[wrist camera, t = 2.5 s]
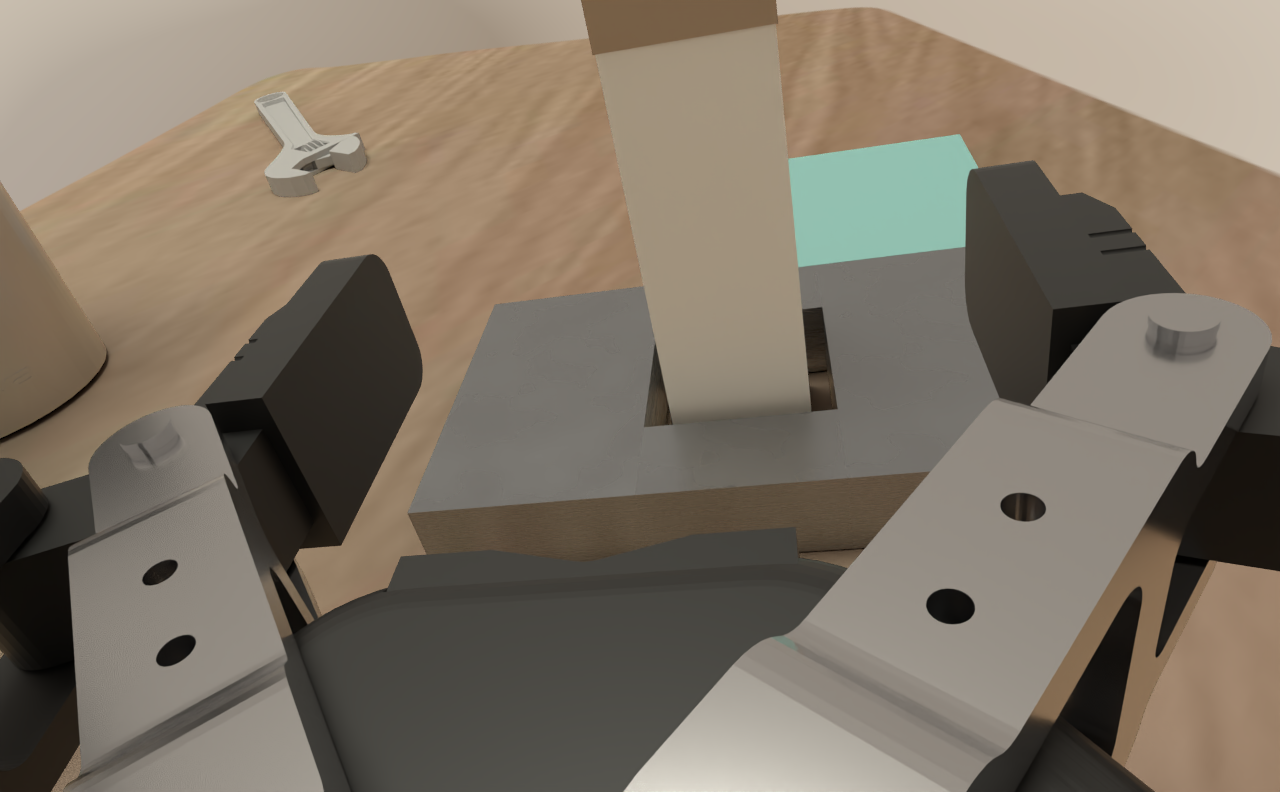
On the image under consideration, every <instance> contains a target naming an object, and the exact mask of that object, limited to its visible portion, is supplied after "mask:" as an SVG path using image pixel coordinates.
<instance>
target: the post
mask: <svg viewBox="0 0 1280 792" xmlns="http://www.w3.org/2000/svg"><path fill="white" fill-rule="evenodd" d="M581 2H582V7H583V11H584V16H585V21H586V26H587V30H588V35H589V40H590V45H591V49H592V54H593V55H595V56H596V61H597V65H598V70H599V75H600V80H601V84H602V89H603V94H604V99H605V104H606V108H607V113H608V118H609V123H610V127H611V132H612V137H613V142H614V147H615V151H616V156H617V161H618V166H619V170H620V175H621V180H622V185H623V190H624V194H625V199H626V204H627V209H628V213H629V218H630V223H631V228H632V233H633V237H634V242H635V247H636V252H637V257H638V261H639V266H640V271H641V276H642V280H643V285H644V290H645V295H646V300H647V304H648V309H649V314H650V319H651V323H652V328H653V333H654V338H655V343H656V347H657V352H658V357H659V362H660V366H661V371H662V376H663V381H664V386H665V390H666V395H667V400H668V405H669V410H670V414H671V419H672V424H673V425H675V424H686V423H696V422H707V421H718V420H728V419H739V418H750V417H760V416H771V415H782V414H792V413H803V412H811V401H810V390H809V379H808V368H807V358H806V347H805V336H804V325H803V314H802V303H801V293H800V282H799V271H798V260H797V249H796V239H795V228H794V217H793V206H792V195H791V184H790V174H789V163H788V152H787V141H786V130H785V120H784V109H783V98H782V87H781V76H780V65H779V55H778V44H777V33H776V24H777V23H778V18H777V9H776V8H777V7H776V0H581Z"/></svg>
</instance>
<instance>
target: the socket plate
mask: <svg viewBox="0 0 1280 792" xmlns="http://www.w3.org/2000/svg"><path fill="white" fill-rule="evenodd" d="M798 271H799V282H800V293H801V303H802V314H803V325H804V336H805V347H806V358H807V368H808V372H815V371H825V370H827V373H828V380H829V387H830V393H831V400H832V407H833V410H824V411H814V412H803V413H792V414H782V415H771V416H760V417H750V418H739V419H728V420H718V421H707V422H696V423H686V424H675V425H666V417H667V407H668V400H667V395H666V390H665V386H664V381H663V376H662V371H661V366H660V362H659V357H658V352H657V347H656V343H655V338H654V333H653V328H652V323H651V319H650V314H649V309H648V304H647V300H646V295H645V290H644V286H643V287H634V288H626V289H618V290H610V291H602V292H594V293H585V294H577V295H569V296H561V297H553V298H545V299H536V300H528V301H520V302H512V303H504V304H496V305H495V306H494V308H493V311H492V313H491V316H490V318H489V320H488V323H487V325H486V327H485V330H484V332H483V335H482V337H481V339H480V342H479V344H478V347H477V349H476V351H475V354H474V356H473V358H472V361H471V363H470V366H469V368H468V370H467V373H466V375H465V378H464V380H463V382H462V385H461V387H460V389H459V392H458V394H457V397H456V399H455V401H454V404H453V406H452V409H451V411H450V413H449V416H448V418H447V420H446V423H445V425H444V428H443V430H442V432H441V435H440V437H439V440H438V442H437V444H436V447H435V449H434V451H433V454H432V456H431V459H430V461H429V463H428V466H427V468H426V471H425V473H424V475H423V478H422V480H421V482H420V485H419V487H418V490H417V492H416V494H415V497H414V499H413V502H412V504H411V506H410V509H409V511H408V515H409V517H410V520H411V522H412V524H413V526H414V528H415V530H416V532H417V535H418V537H419V539H420V541H421V543H422V545H423V547H424V550H425V552H426V554H427V555H429V554H443V553H456V552H469V551H482V550H497V551H504V552H511V553H519V554H526V555H533V556H540V557H548V558H555V559H562V560H569V561H577V562H588V561H594V560H599V559H602V558H606V557H610V556H614V555H618V554H621V553H625V552H629V551H633V550H636V549H640V548H644V547H648V546H652V545H655V544H659V543H663V542H667V541H670V540H674V539H678V538H682V537H686V536H689V535H695V534H708V533H721V532H735V531H748V530H761V529H775V528H788V527H796V534H797V541H798V549H799V552H807V551H823V550H838V549H853V548H866V547H867V546H868V544H869V543H870V542H871V541H872V540H873V539H874V537H875V536H876V535H877V534H878V533H879V531H880V530H881V529H882V528H883V527H884V526H885V524H886V523H887V522H888V521H889V520H890V519H891V517H892V516H893V515H894V514H895V513H896V512H897V510H898V509H899V508H900V507H901V506H902V505H903V503H904V502H905V501H906V500H907V499H908V498H909V496H910V495H911V494H912V493H913V492H914V491H915V489H916V488H917V487H918V486H919V485H920V483H921V482H922V481H923V480H924V479H925V478H926V476H927V475H928V474H929V473H930V472H931V471H932V469H933V468H934V467H935V466H936V465H937V464H938V462H939V461H940V460H941V459H942V458H943V457H944V455H945V454H946V453H947V452H948V451H949V450H950V448H951V447H952V446H953V445H954V444H955V443H956V441H957V440H958V439H959V438H960V437H961V435H962V434H963V433H964V432H965V431H966V430H967V428H968V427H969V426H970V425H971V424H972V423H973V421H974V420H975V419H976V418H977V417H978V416H979V414H980V413H981V412H982V411H983V410H984V409H985V408H986V407H987V406H988V405H989V404H990V403H991V402H992V401H994V400H995V399H998V398H999V396H998V393H997V391H996V388H995V386H994V383H993V381H992V378H991V376H990V373H989V371H988V368H987V366H986V363H985V361H984V358H983V356H982V353H981V351H980V348H979V346H978V343H977V341H976V339H975V336H974V334H973V331H972V328H971V325H970V322H969V317H968V312H967V305H966V296H965V247H961V248H953V249H945V250H936V251H928V252H920V253H912V254H904V255H896V256H888V257H879V258H871V259H863V260H855V261H847V262H839V263H830V264H822V265H814V266H806V267H798Z"/></svg>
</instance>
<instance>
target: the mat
mask: <svg viewBox="0 0 1280 792" xmlns="http://www.w3.org/2000/svg"><path fill="white" fill-rule="evenodd" d="M788 163H789V174H790V184H791V195H792V206H793V217H794V228H795V239H796V249H797V260H798V267H806V266H814V265H822V264H830V263H839V262H847V261H855V260H863V259H871V258H879V257H888V256H896V255H904V254H912V253H920V252H928V251H936V250H945V249H953V248H961V247H965V239H966V188H967V179H968V175H969V172H970V170H971V169H977V168H978V166H977V165H976V163H975V161H974V159H973V157H972V156H971V154H970V152H969V150H968V148H967V147H966V145H965V143H964V141H963V140H962V138H961V136H960V134H958V135H951V136H944V137H937V138H930V139H923V140H916V141H909V142H902V143H895V144H888V145H882V146H875V147H868V148H861V149H854V150H847V151H840V152H833V153H826V154H819V155H812V156H805V157H798V158H791V159H788Z"/></svg>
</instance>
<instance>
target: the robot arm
mask: <svg viewBox="0 0 1280 792" xmlns="http://www.w3.org/2000/svg"><path fill="white" fill-rule="evenodd" d="M965 296H966V305H967V312H968V317H969V322H970V325H971V328H972V331H973V334H974V336H975V339H976V341H977V343H978V346H979V348H980V351H981V353H982V356H983V358H984V361H985V363H986V366H987V368H988V371H989V373H990V376H991V378H992V381H993V383H994V386H995V388H996V391H997V393H998V396H999V398H998V399H995V400H994V401H992V402H991V403H990V404H989V405H988V406H987V407H986V408H985V409H984V410H983V411H982V412H981V413H980V414H979V416H978V417H977V418H976V419H975V420H974V421H973V423H972V424H971V425H970V426H969V427H968V428H967V430H966V431H965V432H964V433H963V434H962V435H961V437H960V438H959V439H958V440H957V441H956V443H955V444H954V445H953V446H952V447H951V448H950V450H949V451H948V452H947V453H946V454H945V455H944V457H943V458H942V459H941V460H940V461H939V462H938V464H937V465H936V466H935V467H934V468H933V469H932V471H931V472H930V473H929V474H928V475H927V476H926V478H925V479H924V480H923V481H922V482H921V483H920V485H919V486H918V487H917V488H916V489H915V491H914V492H913V493H912V494H911V495H910V496H909V498H908V499H907V500H906V501H905V502H904V503H903V505H902V506H901V507H900V508H899V509H898V510H897V512H896V513H895V514H894V515H893V516H892V517H891V519H890V520H889V521H888V522H887V523H886V524H885V526H884V527H883V528H882V529H881V530H880V531H879V533H878V534H877V535H876V536H875V537H874V539H873V540H872V541H871V542H870V543H869V544H868V546H867V547H866V548H865V549H864V550H863V551H862V553H861V554H860V555H859V556H858V557H857V558H856V560H855V561H854V562H853V563H852V564H851V565H850V567H849V568H845V567H842V566H838V565H834V564H830V563H825V562H821V561H817V560H810V559H804V558H800V557H799V549H798V541H797V534H796V527H788V528H775V529H761V530H748V531H735V532H721V533H708V534H695V535H689V536H686V537H682V538H678V539H674V540H670V541H667V542H663V543H659V544H655V545H652V546H648V547H644V548H640V549H636V550H633V551H629V552H625V553H621V554H618V555H614V556H610V557H606V558H602V559H599V560H594V561H588V562H577V561H569V560H562V559H555V558H548V557H540V556H533V555H526V554H519V553H511V552H504V551H497V550H482V551H469V552H456V553H443V554H429V555H416V556H403V557H401V558H400V560H399V562H398V565H397V567H396V570H395V572H394V574H393V577H392V579H391V582H390V584H389V586H388V588H385V589H382V590H379V591H376V592H373V593H370V594H368V595H365V596H362V597H360V598H357V599H355V600H353V601H350V602H348V603H346V604H344V605H342V606H340V607H337V608H335V609H333V610H332V611H330V612H328V613H326V614H324V615H323V616H322V614H321V612H320V610H319V607H318V605H317V602H316V600H315V598H314V595H313V593H312V591H311V588H310V586H309V584H308V581H307V579H306V577H305V575H304V573H303V571H302V570H301V568H300V566H299V565H298V563H297V561H296V559H295V556H296V554H297V552H298V551H299V549H303V548H315V547H328V546H341V545H342V543H343V541H344V539H345V537H346V535H347V533H348V531H349V529H350V527H351V525H352V523H353V521H354V519H355V517H356V515H357V513H358V511H359V509H360V507H361V505H362V503H363V501H364V499H365V497H366V495H367V493H368V491H369V489H370V487H371V485H372V483H373V481H374V479H375V477H376V475H377V473H378V471H379V469H380V467H381V465H382V463H383V461H384V459H385V457H386V455H387V453H388V451H389V449H390V447H391V445H392V443H393V441H394V439H395V437H396V435H397V433H398V431H399V429H400V427H401V425H402V423H403V421H404V419H405V417H406V415H407V413H408V411H409V409H410V407H411V405H412V403H413V401H414V399H415V397H416V395H417V393H418V391H419V389H420V386H421V382H422V373H423V370H422V359H421V354H420V350H419V347H418V344H417V341H416V339H415V336H414V334H413V331H412V329H411V326H410V324H409V321H408V319H407V316H406V314H405V311H404V308H403V306H402V303H401V301H400V298H399V296H398V293H397V291H396V288H395V286H394V283H393V281H392V278H391V276H390V273H389V271H388V269H387V267H386V265H385V264H384V262H383V261H382V260H381V259H380V258H379V257H378V256H376V255H373V254H371V255H363V256H356V257H349V258H342V259H335V260H329V261H324V262H321V263H320V264H319V265H318V267H317V268H316V269H315V270H314V271H313V273H312V274H311V275H310V276H309V278H308V279H307V280H306V281H305V282H304V284H303V285H302V286H301V287H300V289H299V290H298V291H297V292H296V293H295V295H294V296H293V297H292V298H291V300H290V301H289V302H288V303H287V304H286V305H285V306H284V307H282V308H281V309H279V310H278V311H277V312H275V313H274V314H272V315H271V316H269V317H268V318H267V319H266V320H265V321H264V322H263V323H262V324H261V326H260V327H259V328H258V329H257V330H256V332H255V333H254V334H253V335H252V336H251V338H250V339H249V344H245V345H244V346H243V347H242V348H241V350H240V351H239V352H238V353H237V354H236V356H235V357H234V358H235V361H231V362H230V363H229V364H228V365H227V366H226V368H225V369H224V370H223V371H222V372H221V374H220V375H219V376H218V377H217V378H216V380H215V381H214V382H213V383H212V384H211V386H210V387H209V388H208V389H207V390H206V392H205V393H204V394H203V395H202V396H201V398H200V399H199V400H198V401H197V402H196V404H195V405H183V406H176V407H171V408H167V409H163V410H160V411H157V412H154V413H152V414H149V415H146V416H144V417H142V418H140V419H138V420H136V421H134V422H132V423H130V424H128V425H127V426H125V427H123V428H122V429H120V430H119V431H117V432H116V433H115V434H113V435H112V436H111V437H109V438H108V439H107V440H106V441H105V442H104V443H103V444H101V446H100V447H99V448H98V449H97V450H96V451H95V453H94V454H93V456H92V457H91V460H90V462H89V475H86V476H82V477H79V478H76V479H72V480H69V481H66V482H63V483H59V484H56V485H53V486H49V487H46V488H43V489H40V488H39V486H38V485H37V484H36V482H35V481H34V480H33V479H32V477H31V476H30V475H29V473H28V472H27V471H26V469H25V468H24V467H23V465H22V464H21V463H20V462H19V461H17V460H14V459H10V458H0V650H1V651H2V652H3V653H4V655H3V656H2V658H1V659H0V792H51V791H52V789H53V787H54V786H55V784H56V782H57V781H58V779H59V777H60V776H61V774H62V772H63V771H64V769H65V768H66V766H67V764H68V763H69V761H70V759H71V758H72V756H73V754H74V753H75V751H76V749H77V748H78V746H79V744H80V753H81V770H80V774H79V776H78V778H77V779H75V780H73V781H71V782H70V783H68V784H67V785H66V787H65V788H64V790H63V792H1155V791H1153V790H1152V789H1151V788H1150V787H1148V786H1147V785H1146V784H1144V783H1143V782H1142V781H1141V780H1139V779H1138V778H1137V777H1136V776H1134V775H1133V774H1132V773H1131V772H1129V771H1128V770H1127V769H1126V768H1124V766H1125V764H1126V761H1127V759H1128V757H1129V754H1130V752H1131V749H1132V747H1133V744H1134V741H1135V739H1136V736H1137V733H1138V730H1139V727H1140V724H1141V721H1142V718H1143V715H1144V712H1145V709H1146V706H1147V704H1148V701H1149V699H1150V696H1151V694H1152V692H1153V689H1154V687H1155V685H1156V683H1157V681H1158V679H1159V677H1160V675H1161V673H1162V671H1163V669H1164V667H1165V665H1166V663H1167V661H1168V659H1169V657H1170V655H1171V653H1172V651H1173V649H1174V647H1175V645H1176V643H1177V641H1178V639H1179V638H1180V636H1181V634H1182V632H1183V630H1184V628H1185V626H1186V624H1187V622H1188V620H1189V618H1190V616H1191V614H1192V612H1193V610H1194V608H1195V606H1196V604H1197V602H1198V600H1199V598H1200V596H1201V594H1202V592H1203V590H1204V588H1205V586H1206V584H1207V582H1208V580H1209V578H1210V576H1211V574H1212V572H1213V570H1214V568H1215V566H1216V563H1217V561H1218V562H1225V563H1231V564H1237V565H1244V566H1250V567H1256V568H1263V569H1269V570H1275V571H1280V348H1278V347H1273V346H1271V343H1272V334H1271V332H1270V330H1269V327H1268V326H1267V325H1266V324H1265V322H1264V321H1263V320H1262V319H1261V318H1259V317H1258V316H1257V315H1256V314H1254V313H1252V312H1251V311H1249V310H1247V309H1245V308H1244V307H1241V306H1239V305H1236V304H1234V303H1231V302H1228V301H1225V300H1222V299H1218V298H1213V297H1209V296H1203V295H1196V294H1186V293H1185V292H1184V291H1183V290H1182V288H1181V287H1180V286H1179V285H1178V283H1177V282H1176V281H1175V280H1174V279H1173V277H1172V276H1171V275H1170V274H1169V273H1168V271H1167V270H1166V269H1165V268H1164V267H1163V265H1162V264H1161V263H1160V262H1159V260H1158V259H1157V258H1156V257H1155V256H1154V254H1153V253H1152V252H1151V251H1150V250H1146V245H1145V244H1144V242H1143V241H1142V240H1141V239H1140V237H1139V236H1138V235H1137V234H1136V233H1132V228H1131V227H1130V225H1129V224H1128V223H1127V222H1126V221H1125V219H1124V218H1123V217H1122V216H1121V214H1120V213H1119V212H1118V211H1117V210H1116V208H1114V207H1112V206H1110V205H1108V204H1106V203H1103V202H1101V201H1099V200H1097V199H1095V198H1093V197H1090V196H1088V195H1086V194H1084V193H1076V194H1068V195H1061V196H1060V195H1059V194H1058V192H1057V191H1056V189H1055V188H1054V187H1053V185H1052V184H1051V182H1050V181H1049V180H1048V178H1047V177H1046V176H1045V174H1044V173H1043V171H1042V170H1041V169H1040V167H1039V166H1038V165H1037V163H1036V162H1035V161H1033V160H1032V161H1025V162H1018V163H1012V164H1005V165H998V166H991V167H984V168H977V169H971V170H970V172H969V175H968V179H967V188H966V239H965ZM106 353H107V350H106V348H105V345H104V343H103V342H102V340H101V339H100V337H99V335H98V334H97V332H96V331H95V329H94V328H93V326H92V324H91V323H90V321H89V320H88V318H87V317H86V315H85V314H84V312H83V310H82V309H81V307H80V306H79V304H78V303H77V301H76V299H75V298H74V296H73V295H72V293H71V292H70V290H69V289H68V287H67V285H66V284H65V282H64V281H63V279H62V278H61V276H60V274H59V272H58V271H57V269H56V268H55V266H54V264H53V263H52V261H51V260H50V258H49V257H48V255H47V254H46V252H45V250H44V249H43V247H42V246H41V244H40V243H39V241H38V239H37V238H36V236H35V235H34V233H33V232H32V230H31V229H30V227H29V225H28V224H27V222H26V221H25V219H24V218H23V216H22V215H21V213H20V211H19V210H18V208H17V207H16V205H15V204H14V202H13V201H12V199H11V197H10V196H9V194H8V193H7V191H6V190H5V188H4V187H3V185H2V183H1V182H0V438H2V437H4V436H6V435H8V434H10V433H12V432H15V431H17V430H19V429H21V428H23V427H25V426H27V425H29V424H31V423H32V422H34V421H36V420H38V419H39V418H41V417H43V416H45V415H46V414H48V413H50V412H51V411H53V410H54V409H56V408H57V407H59V406H60V405H62V404H63V403H64V402H66V401H67V400H69V399H70V398H72V397H73V396H74V395H75V394H76V393H78V392H79V391H80V390H81V389H82V388H83V387H85V386H86V385H87V384H88V383H89V382H90V381H91V380H92V378H93V377H94V376H95V375H96V374H97V373H98V372H99V370H100V368H101V367H102V365H103V363H104V361H105V358H106Z"/></svg>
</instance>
